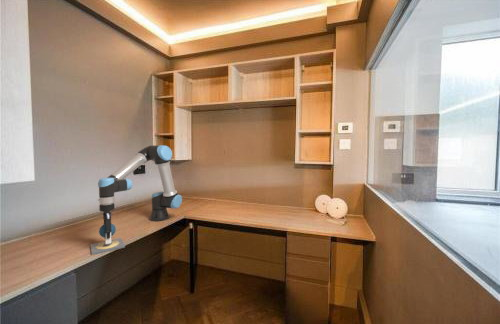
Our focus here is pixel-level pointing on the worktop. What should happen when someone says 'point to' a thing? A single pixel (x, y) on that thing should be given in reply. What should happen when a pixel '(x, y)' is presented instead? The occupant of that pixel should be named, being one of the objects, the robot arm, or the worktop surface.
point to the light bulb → (103, 229)
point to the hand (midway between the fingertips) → (107, 240)
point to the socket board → (106, 246)
